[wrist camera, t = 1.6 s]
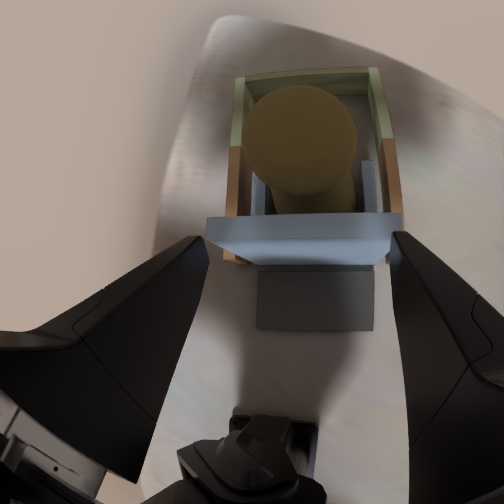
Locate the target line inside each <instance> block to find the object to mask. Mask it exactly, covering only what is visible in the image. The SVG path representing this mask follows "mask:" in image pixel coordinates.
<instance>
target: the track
mask: <svg viewBox="0 0 504 504" xmlns="http://www.w3.org/2000/svg"><path fill="white" fill-rule="evenodd" d="M290 85H308V86H314V87H318V88H320V89H322V90H324V91H327V92H329V93H331V94H332V95H334V96H341V95H368V99H369V104H370V109H371V115H372V121H373V127H374V133H375V139H376V146H377V153H378V161H379V169H380V178H381V188H382V198H383V211H384V213H402V223H403V231H405V226H404V214H403V203H402V194H401V185H400V177H399V169H398V162H397V156H396V150H395V144H394V138H393V132H392V127H391V122H390V117H389V112H388V107H387V103H386V99H385V94H384V90H383V86H382V82H381V78H380V74H379V70H378V67H342V68H319V69H304V70H293V71H283V72H274V73H266V74H258V75H251V76H245V77H239V78H235V89H234V100H233V112H232V125H231V137H230V151H229V165H228V180H227V196H226V212H225V217H233V216H250V203H251V177H252V169H251V168H250V166H249V165H248V163H247V161H246V158H245V155H244V151H243V148H242V129H243V125H244V123H245V120H246V118H247V116H248V114H249V112H250V110H251V109H252V107H253V106H254V102H258V101H259V100H260V98H262V97H263V96H265V95H267V94H268V93H270V92H271V91H273V90H276V89H279V88H282V87H285V86H290ZM389 254H390V251H389V252H388V253H387V254H386V264H389ZM223 259H224V260H226V261H229V262H232V263H234V264H237V265H248V260H246V259H244V258H242V257H240V256H238V255H236V254H234V253H232V252H230V251H228V250H226V249H223Z"/></svg>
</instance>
